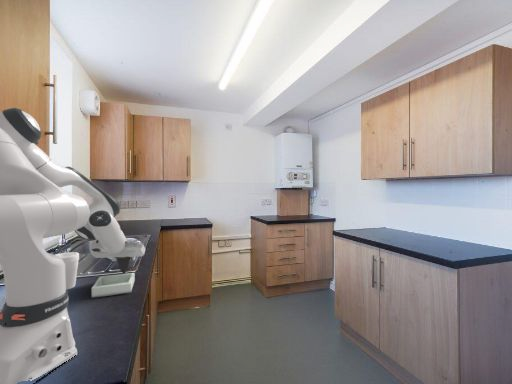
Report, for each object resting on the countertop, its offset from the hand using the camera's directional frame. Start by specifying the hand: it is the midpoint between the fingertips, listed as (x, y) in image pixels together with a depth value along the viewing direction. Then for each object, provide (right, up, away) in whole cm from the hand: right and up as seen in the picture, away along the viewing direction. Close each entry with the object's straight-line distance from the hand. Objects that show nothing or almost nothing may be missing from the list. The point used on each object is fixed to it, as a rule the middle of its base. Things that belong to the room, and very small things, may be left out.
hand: (124, 259), depth 116 cm
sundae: (0, -9, 0) cm, 9 cm away
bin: (+2, -9, -12) cm, 15 cm away
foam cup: (-19, -9, -10) cm, 23 cm away
